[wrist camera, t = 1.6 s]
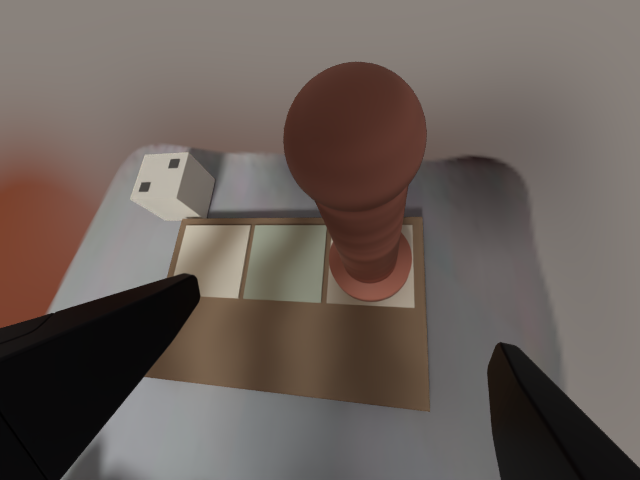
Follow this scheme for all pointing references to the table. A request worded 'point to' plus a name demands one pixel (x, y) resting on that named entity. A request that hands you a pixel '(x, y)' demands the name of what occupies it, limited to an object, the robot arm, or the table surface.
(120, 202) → the table surface
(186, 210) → the die
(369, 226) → the pawn
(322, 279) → the game board
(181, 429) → the table surface
